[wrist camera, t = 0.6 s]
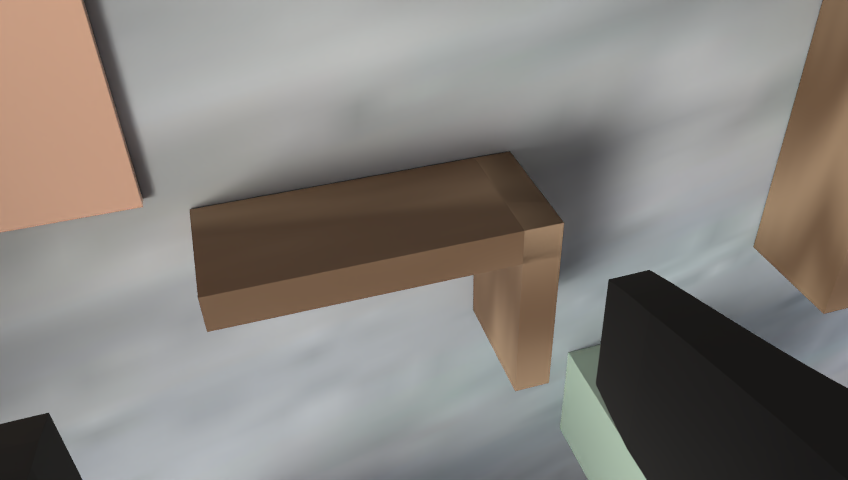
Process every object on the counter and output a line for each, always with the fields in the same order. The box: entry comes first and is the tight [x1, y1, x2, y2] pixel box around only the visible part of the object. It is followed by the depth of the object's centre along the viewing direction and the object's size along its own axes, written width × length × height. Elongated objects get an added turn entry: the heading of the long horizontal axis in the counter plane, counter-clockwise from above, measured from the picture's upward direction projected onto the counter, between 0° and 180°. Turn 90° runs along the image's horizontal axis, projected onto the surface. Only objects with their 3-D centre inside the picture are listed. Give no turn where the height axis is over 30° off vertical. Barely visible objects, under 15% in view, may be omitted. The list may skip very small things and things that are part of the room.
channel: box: [190, 0, 848, 391], centre depth 19 cm, size 16×18×4 cm
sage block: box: [560, 345, 646, 480], centre depth 26 cm, size 4×4×7 cm
